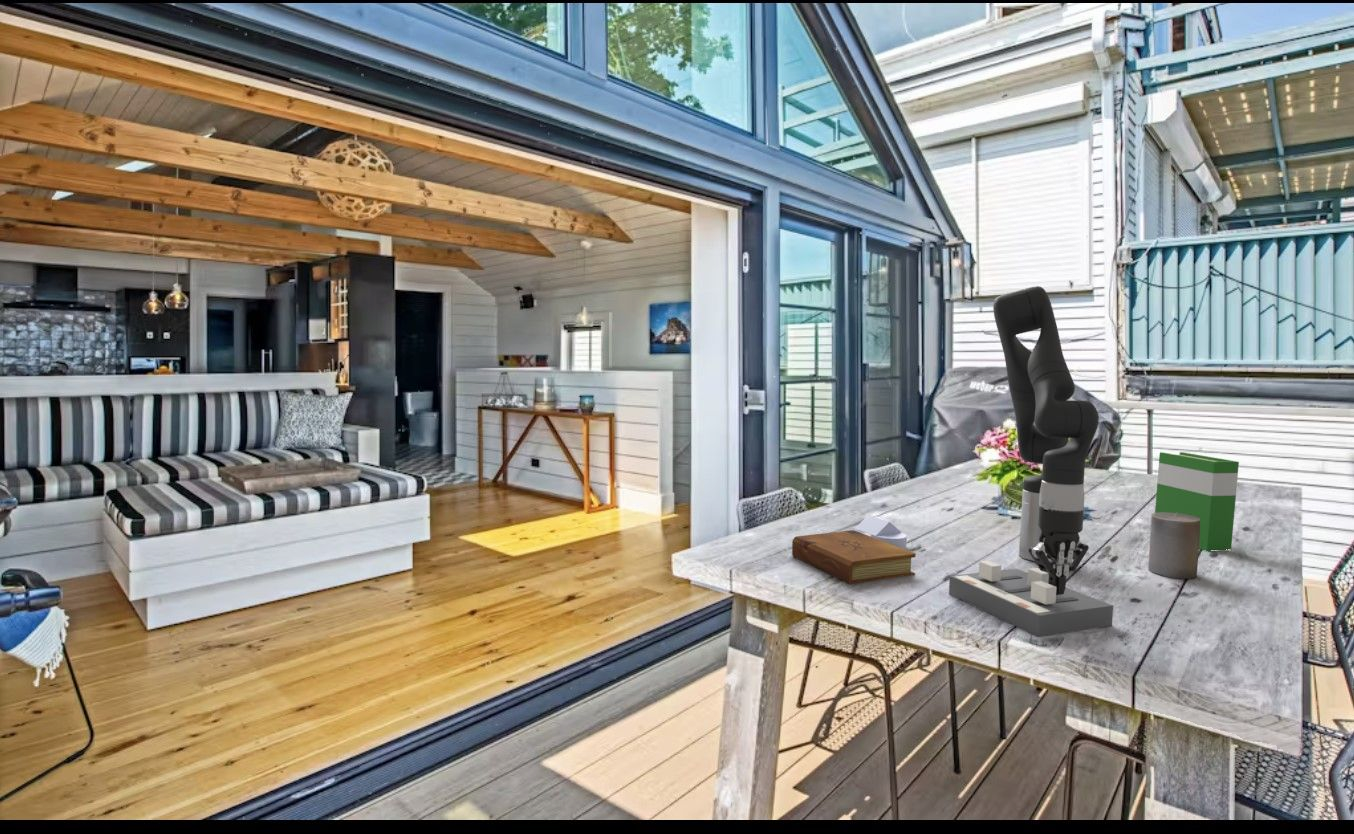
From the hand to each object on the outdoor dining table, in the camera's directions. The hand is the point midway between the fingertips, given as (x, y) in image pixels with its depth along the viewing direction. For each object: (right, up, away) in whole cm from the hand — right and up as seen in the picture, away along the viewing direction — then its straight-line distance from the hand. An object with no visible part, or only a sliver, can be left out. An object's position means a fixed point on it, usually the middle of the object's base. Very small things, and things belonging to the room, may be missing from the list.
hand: (1056, 593), depth 138 cm
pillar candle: (+45, -3, +33) cm, 56 cm away
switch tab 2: (+1, 0, +8) cm, 8 cm away
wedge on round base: (-18, -1, +55) cm, 58 cm away
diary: (-31, -3, +36) cm, 47 cm away
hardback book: (+70, -1, +62) cm, 93 cm away
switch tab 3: (-3, -1, -1) cm, 3 cm away
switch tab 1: (-7, 0, +12) cm, 15 cm away
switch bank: (-2, -5, +7) cm, 9 cm away
